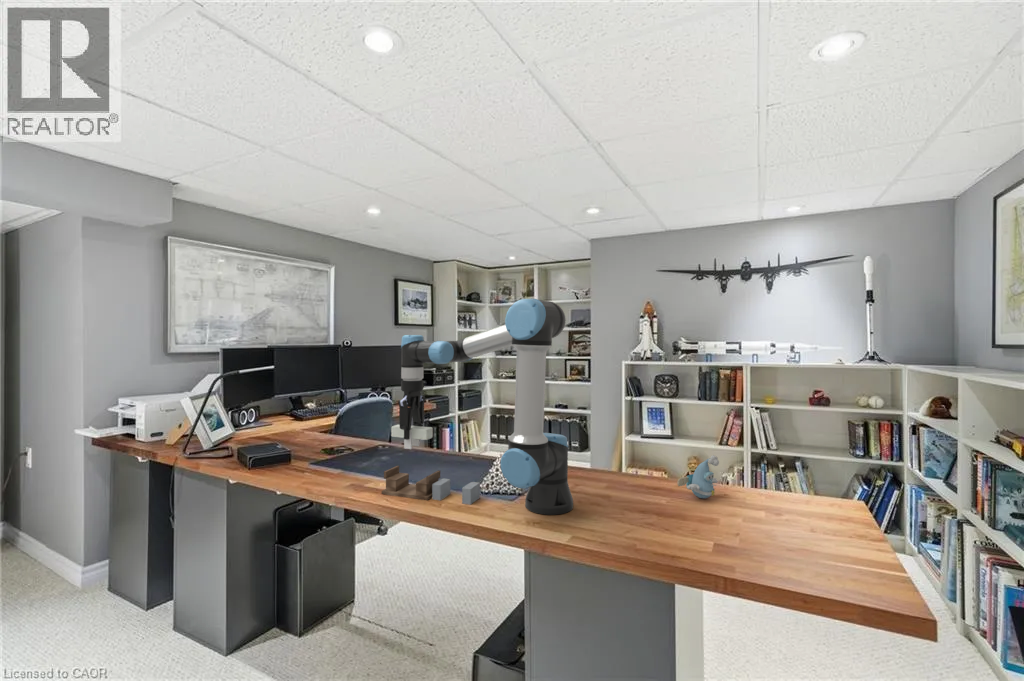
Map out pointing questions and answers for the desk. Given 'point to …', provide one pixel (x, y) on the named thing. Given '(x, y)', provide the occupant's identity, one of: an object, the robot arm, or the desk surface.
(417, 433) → the pale grey long block
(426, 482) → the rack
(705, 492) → the toy figure
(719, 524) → the desk surface
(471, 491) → the blocks
